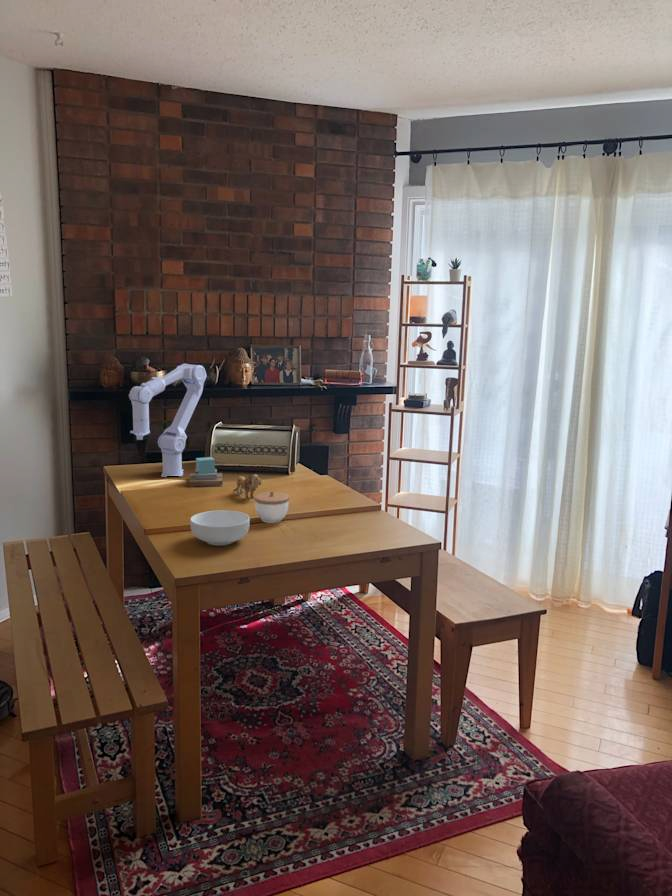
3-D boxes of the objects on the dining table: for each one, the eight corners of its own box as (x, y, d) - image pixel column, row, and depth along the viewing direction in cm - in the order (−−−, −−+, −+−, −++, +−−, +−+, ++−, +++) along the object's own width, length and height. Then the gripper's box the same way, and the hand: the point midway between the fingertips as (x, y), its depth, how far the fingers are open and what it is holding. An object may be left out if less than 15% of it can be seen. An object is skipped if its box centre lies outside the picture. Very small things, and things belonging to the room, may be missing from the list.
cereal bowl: (262, 541, 212) (261, 517, 211) (216, 555, 200) (216, 530, 199) (224, 528, 224) (223, 505, 222) (178, 541, 211) (178, 517, 210)
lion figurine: (264, 499, 254) (264, 474, 252) (252, 502, 251) (252, 476, 249) (239, 491, 265) (238, 466, 263) (226, 493, 261) (226, 469, 259)
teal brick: (196, 471, 276) (195, 458, 275) (212, 469, 278) (211, 456, 277) (199, 474, 272) (198, 460, 271) (215, 472, 274) (214, 459, 273)
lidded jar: (288, 525, 227) (288, 496, 225) (253, 525, 226) (253, 496, 224) (289, 515, 237) (289, 486, 235) (255, 515, 237) (255, 486, 235)
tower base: (190, 478, 281) (190, 468, 280) (222, 477, 283) (222, 467, 282) (189, 486, 269) (188, 476, 268) (222, 486, 271) (222, 475, 270)
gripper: (132, 416, 277) (133, 451, 280) (127, 422, 263) (128, 459, 266) (151, 416, 279) (152, 451, 281) (147, 422, 265) (148, 459, 267)
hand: (142, 455), depth 274 cm, fingers closed
